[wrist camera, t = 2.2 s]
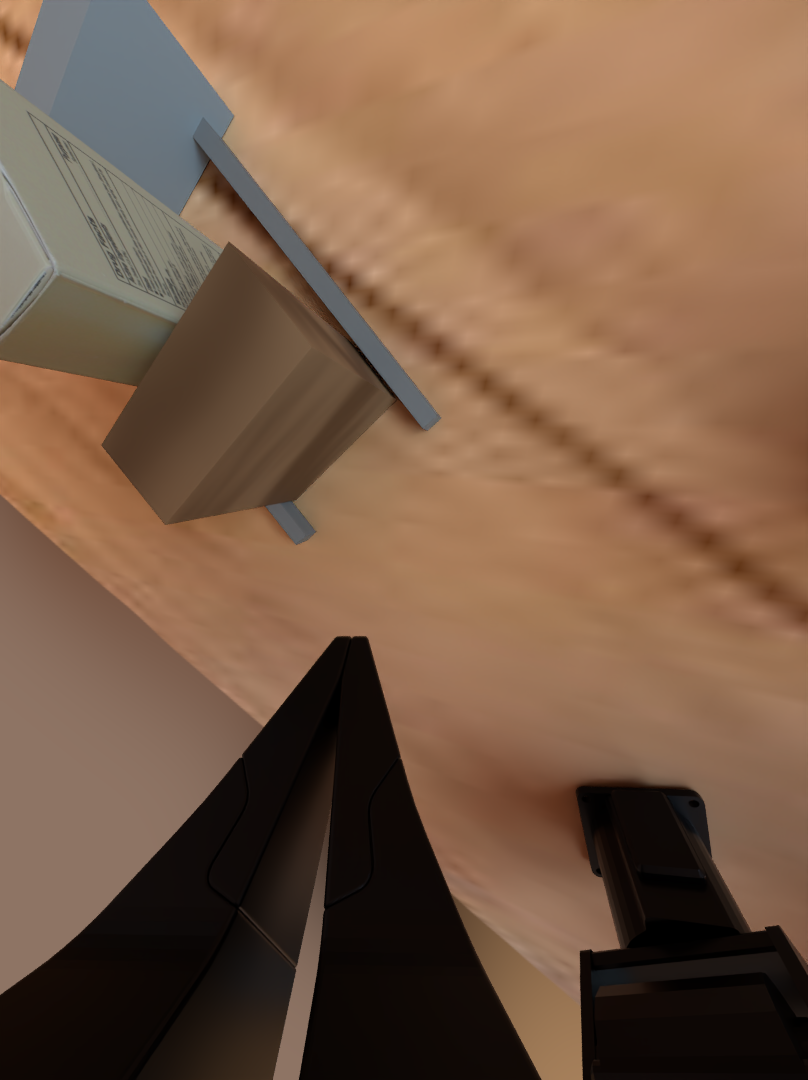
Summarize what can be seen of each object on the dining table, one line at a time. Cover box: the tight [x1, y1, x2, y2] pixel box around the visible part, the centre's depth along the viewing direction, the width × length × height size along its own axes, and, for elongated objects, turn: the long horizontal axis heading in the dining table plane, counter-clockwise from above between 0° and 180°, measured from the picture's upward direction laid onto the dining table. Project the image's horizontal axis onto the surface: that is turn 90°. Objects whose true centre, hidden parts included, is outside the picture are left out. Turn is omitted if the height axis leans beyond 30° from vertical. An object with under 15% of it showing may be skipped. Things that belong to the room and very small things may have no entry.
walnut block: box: [102, 242, 396, 525], centre depth 16 cm, size 4×9×9 cm, turn 130°
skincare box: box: [0, 79, 223, 386], centre depth 14 cm, size 6×4×12 cm
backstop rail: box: [15, 0, 441, 545], centre depth 17 cm, size 21×14×6 cm, turn 40°
